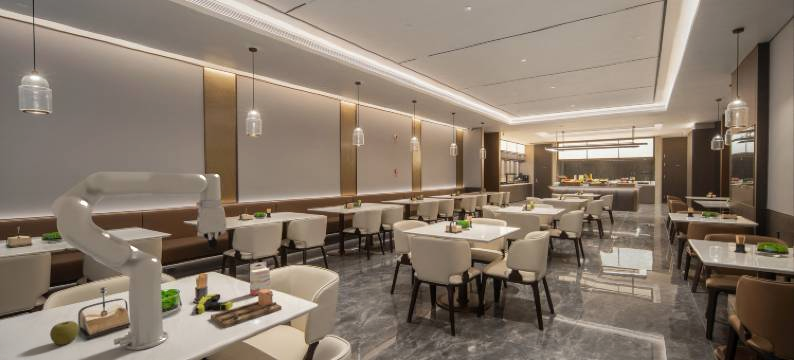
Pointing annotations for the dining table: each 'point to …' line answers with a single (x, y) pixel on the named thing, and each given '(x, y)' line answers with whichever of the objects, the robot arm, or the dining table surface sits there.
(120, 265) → the robot arm
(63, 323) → the apple
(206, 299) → the stun gun
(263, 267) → the ink cartridge box
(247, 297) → the dining table surface
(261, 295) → the orange tan block
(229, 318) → the wooden slatted tray
